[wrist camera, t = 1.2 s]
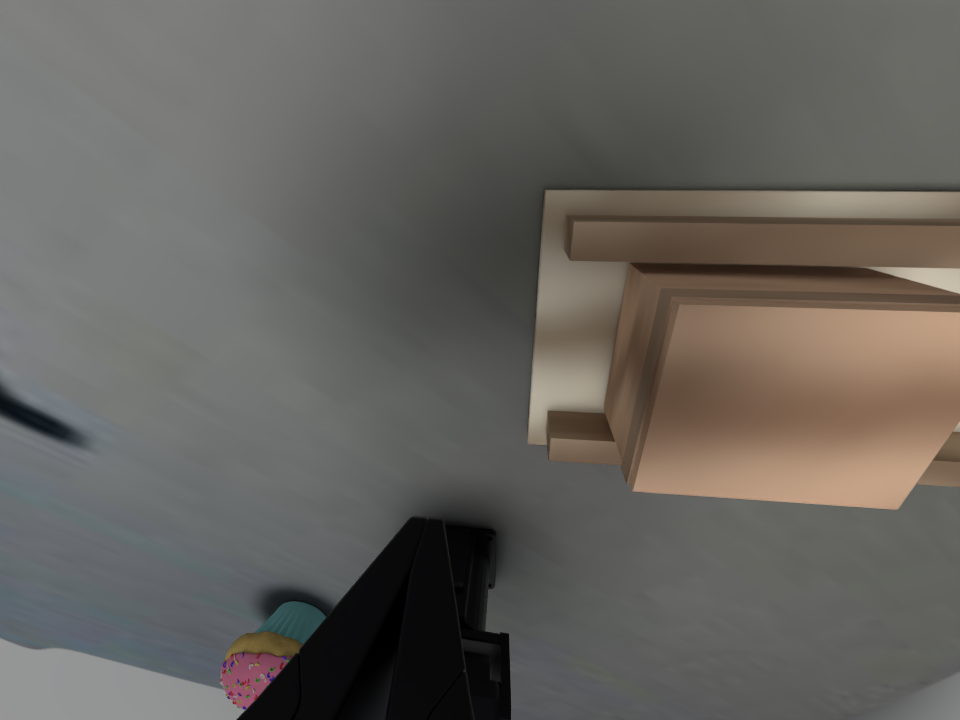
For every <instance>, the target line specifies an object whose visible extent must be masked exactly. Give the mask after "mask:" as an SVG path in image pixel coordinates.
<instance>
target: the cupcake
mask: <svg viewBox="0 0 960 720" xmlns="http://www.w3.org/2000/svg"><path fill="white" fill-rule="evenodd" d="M325 618H326V616H325V615H324V614H323V612H321V611H320V610H319V609H318V608H316V607H314V606H312V605H310V604H307V603H304V602H298V601H290V602H286V603H283V604H282V605H280V606H279V608H278V609H277V610H276V611H275V612H274V613H273V614H272V615H271V617H270V618H269V619H268V620H267V621H266V622H265V623H264V624H263V625H262V626H261V627H260V628H259V629H258V630H257V631H256V632H254V633H247V634H244V635H242V636H241V637H239V638H238V639H237V640H236V641H235V642H234V643H233V645H232V646H231V647H230V649H229V650H228V652H227V654H226V657H225V660H224V662H223V663H222V666H221V672H220V674H221V675H220V678H221V683H220V684H221V685H223V688H224V689H225V691H226V693H227V694H226V696H227V698H228V699H231V700H232V701H233V704H236V705H237V707H238V708H242V709H243V710H244V711H245V710H246V709H247V708H248V707H249V706H250V705H251V704H252V703H253V702H254V701H255V700H256V699H257V697H258V696H259V695H260V694H261V693H262V692H263V691H264V689H265V688H266V687H267V686H268V685H269V684H270V683H271V682H272V680H273V679H274V678H275V677H276V676H277V675H278V674H279V672H280V671H281V670H282V669H283V668H284V666H285V665H286V664H287V663H288V662H289V661H290V659H291V658H292V657H293V656H294V655H295V654H296V653H299V649H300V648H301V647H302V645H303V644H304V643H305V642H306V641H307V639H308V638H309V637H310V636H311V635H312V634H313V632H314V631H315V630H316V629H317V628H318V626H319V625H320V624H321V623H322V622H323V620H324V619H325ZM229 697H230V698H229Z"/></svg>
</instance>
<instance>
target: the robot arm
mask: <svg viewBox="0 0 960 720" xmlns="http://www.w3.org/2000/svg"><path fill="white" fill-rule="evenodd" d="M495 564H496V532H495V531H493V530H490V529H479V528H466V527H454V526H445V523H444V520H443V519H442V518H431V517H430V518H427V517H418V516H413V517H411V518H410V519H409V520H408V521H407V522H406V523H405V525H404V526H403V527H402V528H401V529H400V530H399V532H398V533H397V534H396V535H395V536H394V538H393V539H392V540H391V541H390V542H389V543H388V545H387V546H386V547H385V548H384V549H383V551H382V552H381V553H380V554H379V555H378V557H377V558H376V559H375V560H374V561H373V562H372V564H371V565H370V566H369V567H368V568H367V570H366V571H365V572H364V573H363V574H362V575H361V577H360V578H359V579H358V580H357V581H356V583H355V584H354V585H353V586H352V587H351V589H350V590H349V591H348V592H347V593H346V594H345V596H344V597H343V598H342V599H341V600H340V602H339V603H338V604H337V605H336V606H335V607H334V609H333V610H332V611H331V612H330V613H329V615H328V616H327V617H326V618H325V619H324V620H323V622H322V623H321V624H320V625H319V626H318V628H317V629H316V630H315V631H314V632H313V634H312V635H311V636H310V637H309V638H308V639H307V641H306V642H305V643H304V644H303V645H302V647H301V648H300V649H299V653H296V654H295V655H294V656H293V657H292V658H291V659H290V661H289V662H288V663H287V664H286V665H285V666H284V668H283V669H282V670H281V671H280V672H279V674H278V675H277V676H276V677H275V678H274V679H273V680H272V682H271V683H270V684H269V685H268V686H267V687H266V688H265V689H264V691H263V692H262V693H261V694H260V695H259V696H258V697H257V699H256V700H255V701H254V702H253V703H252V704H251V705H250V706H249V707H248V708H247V709H246V710H245V711H244V712H243V713H242V714H241V716H240V717H239V718H238V719H237V720H511V688H510V655H509V634H508V633H502V632H500V634H498V633H492V632H485V626H486V613H487V599H488V589H493V588H494V587H495Z"/></svg>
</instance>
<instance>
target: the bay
mask: <svg viewBox="0 0 960 720" xmlns="http://www.w3.org/2000/svg"><path fill="white" fill-rule="evenodd" d="M629 263H651V264H701V265H751V266H801V267H851V268H868V269H872V270H876V271H879V272H883V273H887V274H890V275H894V276H897V277H901V278H905V279H908V280H912V281H915V282H919V283H923V284H926V285H930V286H933V287H937V288H941V289H944V290H948V291H952V292H955V293H959V294H960V191H788V190H549V189H545V191H544V205H543V219H542V233H541V247H540V261H539V275H538V289H537V304H536V318H535V332H534V346H533V360H532V374H531V388H530V402H529V416H528V430H527V442H528V444H536V445H547V451H548V460H549V461H562V462H577V463H593V464H609V465H622V460H621V457H620V454H619V451H618V448H617V445H616V443H615V440H614V437H613V434H612V431H611V429H610V426H609V423H608V420H607V417H606V415H605V412H604V403H605V398H606V392H607V386H608V381H609V375H610V370H611V364H612V358H613V353H614V347H615V342H616V336H617V330H618V325H619V319H620V314H621V308H622V302H623V297H624V291H625V286H626V280H627V274H628V269H629ZM916 484H923V485H939V486H955V487H960V422H959V423H958V425H957V426H956V428H955V429H954V430H953V432H952V433H951V435H950V436H949V438H948V439H947V440H946V442H945V443H944V445H943V446H942V447H941V449H940V450H939V452H938V453H937V455H936V456H935V457H934V459H933V460H932V462H931V463H930V464H929V466H928V467H927V469H926V470H925V472H924V473H923V474H922V476H921V477H920V479H919V480H918V481H917V483H916Z"/></svg>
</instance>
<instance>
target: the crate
mask: <svg viewBox="0 0 960 720" xmlns="http://www.w3.org/2000/svg"><path fill="white" fill-rule="evenodd" d="M604 412H605V415H606V417H607V420H608V423H609V426H610V429H611V431H612V434H613V437H614V440H615V443H616V445H617V448H618V451H619V454H620V457H621V460H622V465H621V469H622V472H623V474H624V477H625V480H626V483H627V484H630V485H631V488H632V490H633V491H635V492H649V493H664V494H678V495H693V496H707V497H722V498H736V499H751V500H765V501H780V502H794V503H809V504H823V505H838V506H852V507H867V508H881V509H896V510H898V508H899V507H900V506H901V504H902V503H903V501H904V500H905V498H906V497H907V496H908V494H909V493H910V491H911V490H912V489H913V487H914V486H915V484H916V483H917V481H918V480H919V479H920V477H921V476H922V474H923V473H924V472H925V470H926V469H927V467H928V466H929V464H930V463H931V462H932V460H933V459H934V457H935V456H936V455H937V453H938V452H939V450H940V449H941V447H942V446H943V445H944V443H945V442H946V440H947V439H948V438H949V436H950V435H951V433H952V432H953V430H954V429H955V428H956V426H957V425H958V423H959V422H960V294H959V293H955V292H952V291H948V290H944V289H941V288H937V287H933V286H930V285H926V284H923V283H919V282H915V281H912V280H908V279H905V278H901V277H897V276H894V275H890V274H887V273H883V272H879V271H876V270H872V269H868V268H851V267H801V266H751V265H701V264H651V263H629V269H628V274H627V280H626V286H625V291H624V297H623V302H622V308H621V314H620V319H619V325H618V330H617V336H616V342H615V347H614V353H613V358H612V364H611V370H610V375H609V381H608V386H607V392H606V398H605V403H604Z"/></svg>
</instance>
